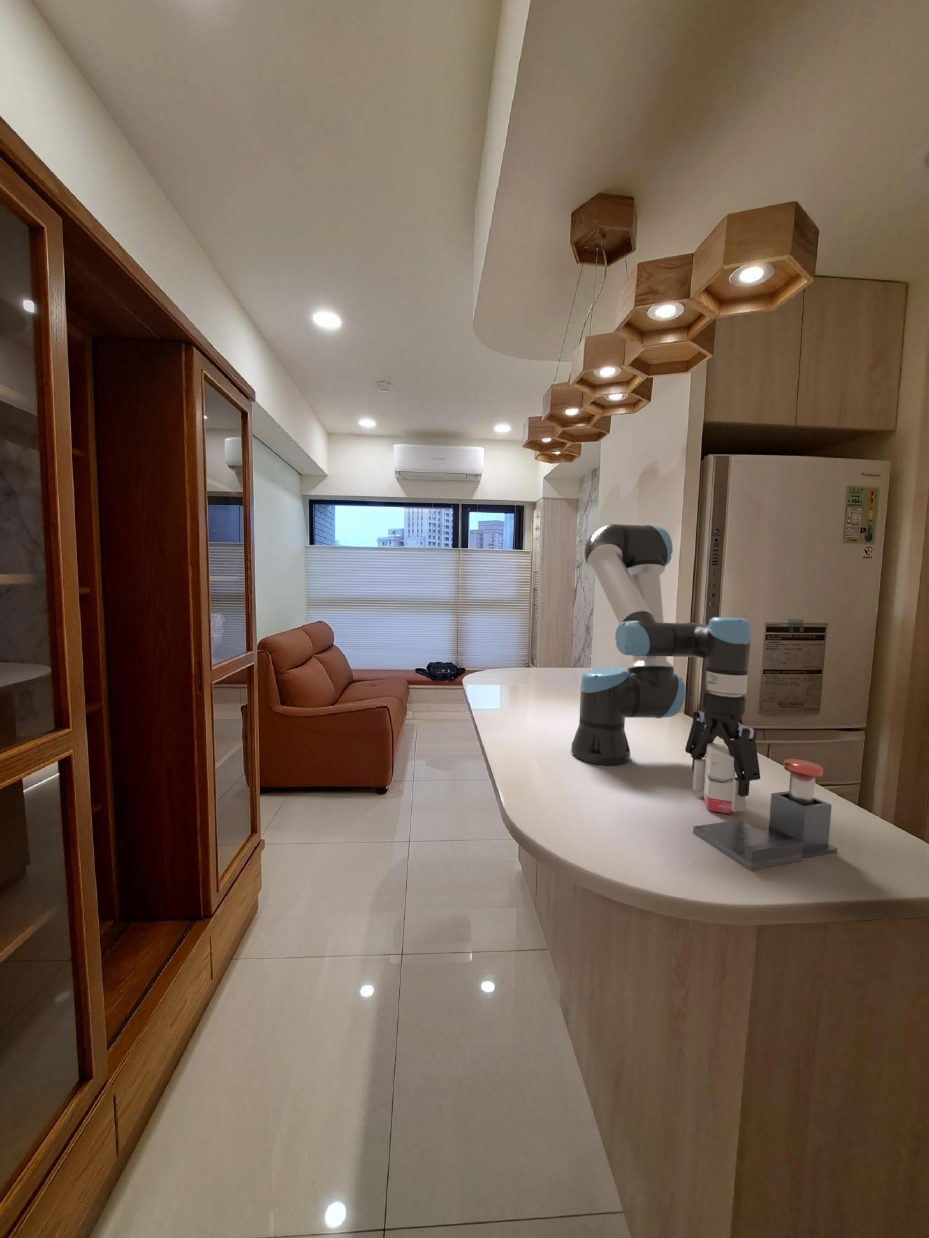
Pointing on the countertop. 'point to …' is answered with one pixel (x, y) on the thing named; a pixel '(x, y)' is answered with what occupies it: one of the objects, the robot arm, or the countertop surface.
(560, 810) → the countertop surface
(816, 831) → the housing
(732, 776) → the ink box
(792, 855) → the tray
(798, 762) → the plunger
